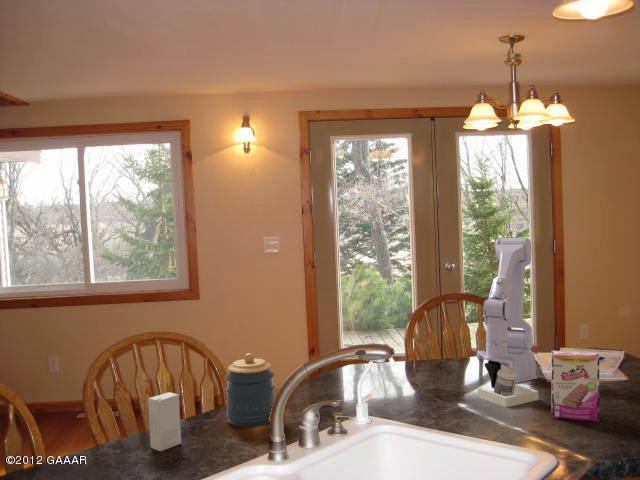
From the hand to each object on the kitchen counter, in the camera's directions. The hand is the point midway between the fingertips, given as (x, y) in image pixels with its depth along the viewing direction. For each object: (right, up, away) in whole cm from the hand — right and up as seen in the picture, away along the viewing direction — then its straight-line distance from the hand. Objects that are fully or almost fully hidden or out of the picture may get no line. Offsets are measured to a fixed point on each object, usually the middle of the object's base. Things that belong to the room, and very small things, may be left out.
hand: (496, 387), depth 174 cm
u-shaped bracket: (+2, -2, -3) cm, 4 cm away
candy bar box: (+14, -3, -20) cm, 25 cm away
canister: (-69, -5, -13) cm, 70 cm away
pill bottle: (+1, -2, -1) cm, 3 cm away
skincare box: (-87, -7, -30) cm, 92 cm away
